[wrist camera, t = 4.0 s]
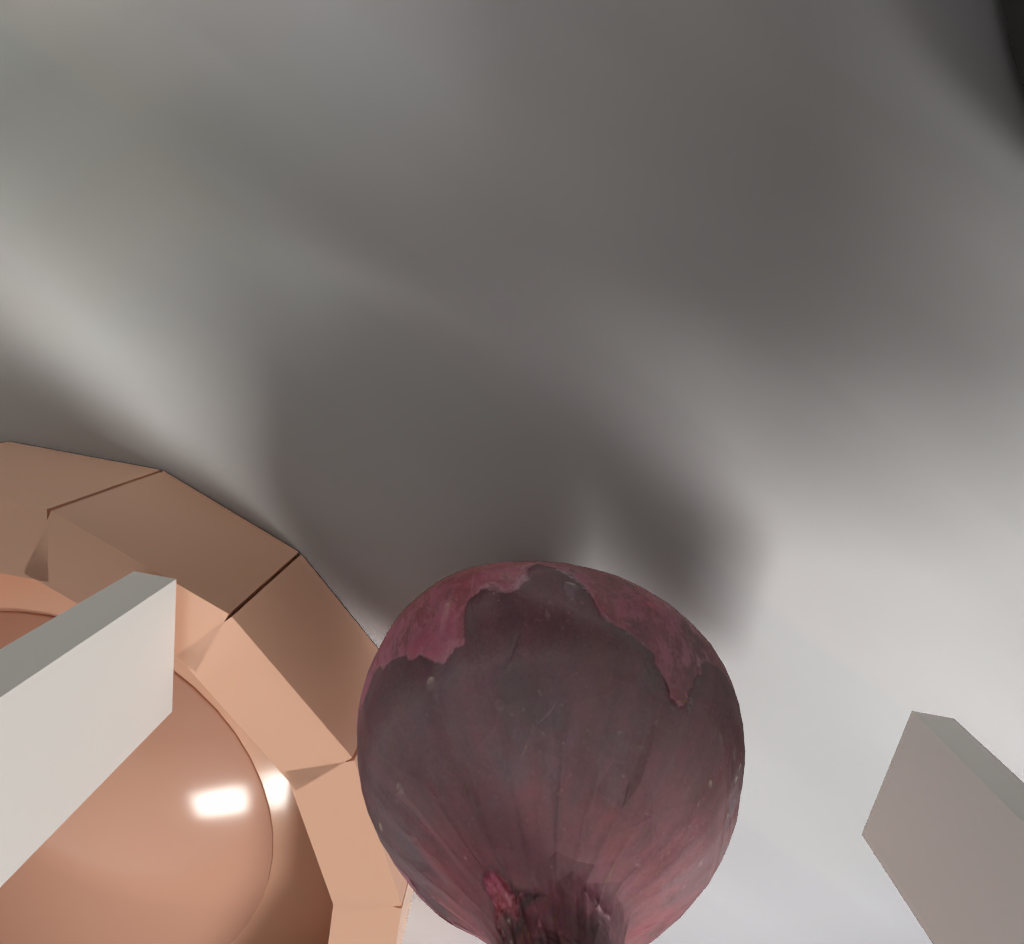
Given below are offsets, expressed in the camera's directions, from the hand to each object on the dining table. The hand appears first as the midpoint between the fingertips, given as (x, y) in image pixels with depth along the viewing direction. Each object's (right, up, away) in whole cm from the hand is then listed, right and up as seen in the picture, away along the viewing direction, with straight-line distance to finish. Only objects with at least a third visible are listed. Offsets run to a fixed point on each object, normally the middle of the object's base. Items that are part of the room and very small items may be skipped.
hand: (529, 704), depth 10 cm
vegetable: (0, +1, +3) cm, 3 cm away
